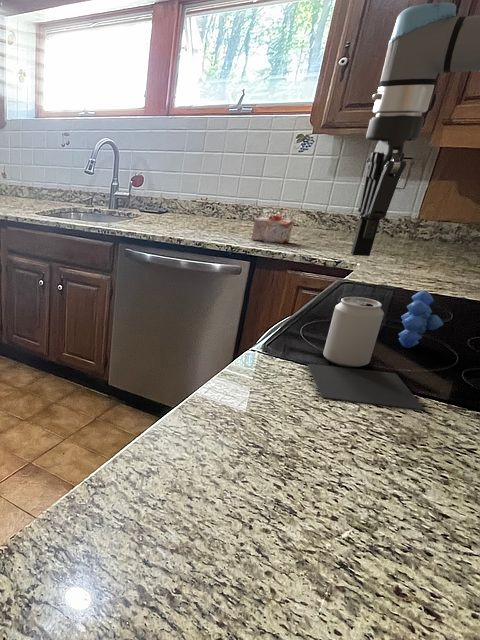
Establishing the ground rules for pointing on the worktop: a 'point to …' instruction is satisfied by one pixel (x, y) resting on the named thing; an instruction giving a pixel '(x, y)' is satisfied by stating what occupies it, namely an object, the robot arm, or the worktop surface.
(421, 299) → the grapes
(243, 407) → the worktop surface
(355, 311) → the can
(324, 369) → the mat
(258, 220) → the food item
